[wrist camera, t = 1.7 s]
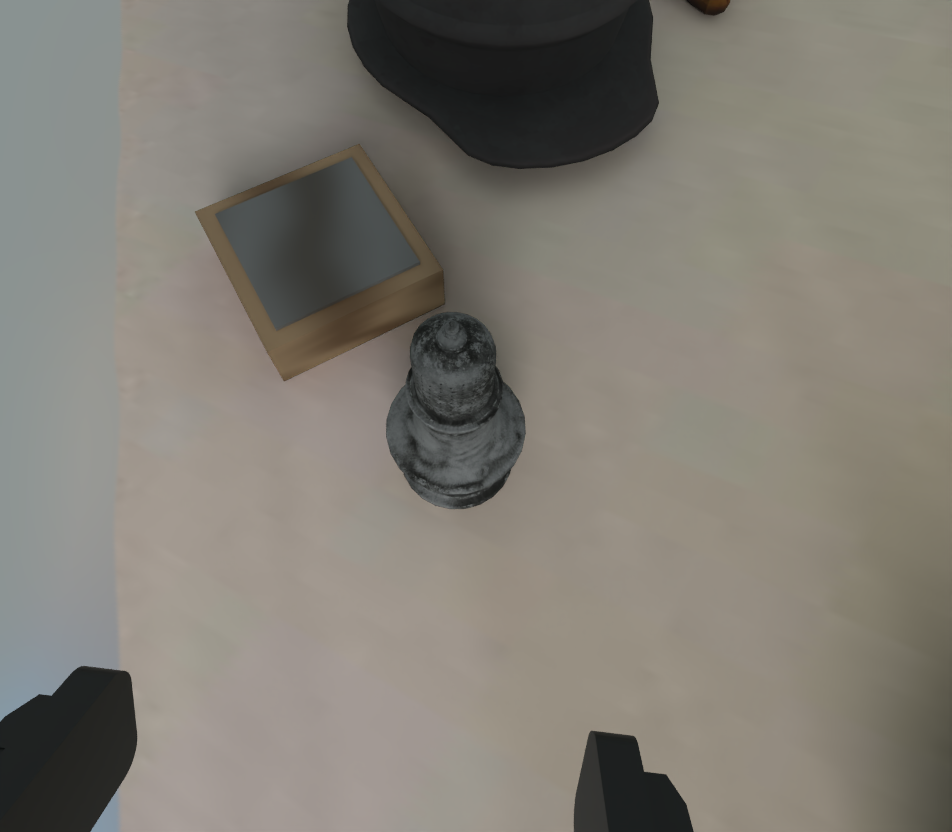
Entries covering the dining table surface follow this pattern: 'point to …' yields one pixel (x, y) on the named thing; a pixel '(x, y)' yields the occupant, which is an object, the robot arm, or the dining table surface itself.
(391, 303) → the wooden picture frame
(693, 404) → the dining table surface
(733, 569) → the dining table surface
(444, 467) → the dark grey chess piece
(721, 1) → the croissant
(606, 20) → the casserole
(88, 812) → the robot arm
